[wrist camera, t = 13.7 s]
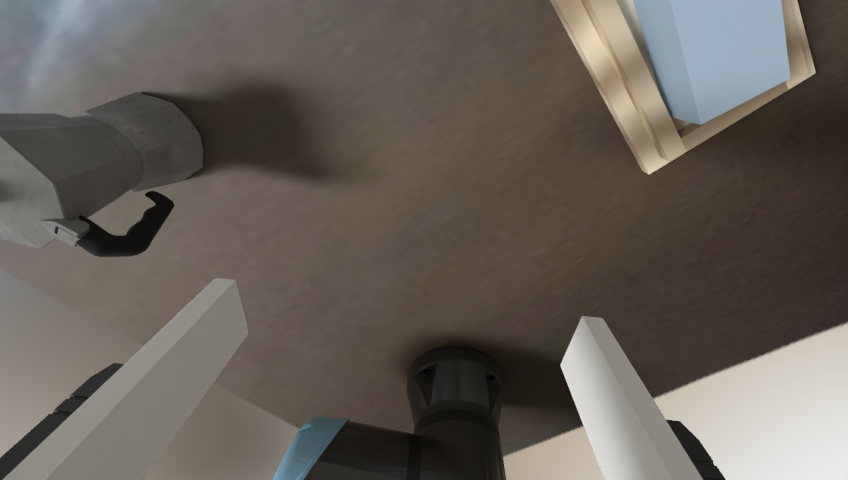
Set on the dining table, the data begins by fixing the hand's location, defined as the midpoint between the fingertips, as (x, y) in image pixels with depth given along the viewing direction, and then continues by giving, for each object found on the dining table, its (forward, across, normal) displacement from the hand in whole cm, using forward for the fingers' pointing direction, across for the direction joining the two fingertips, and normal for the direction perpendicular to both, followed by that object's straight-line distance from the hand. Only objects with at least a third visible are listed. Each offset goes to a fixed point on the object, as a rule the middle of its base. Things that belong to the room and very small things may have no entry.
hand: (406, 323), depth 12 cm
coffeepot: (+25, +28, +2) cm, 37 cm away
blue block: (+23, -20, -13) cm, 33 cm away
